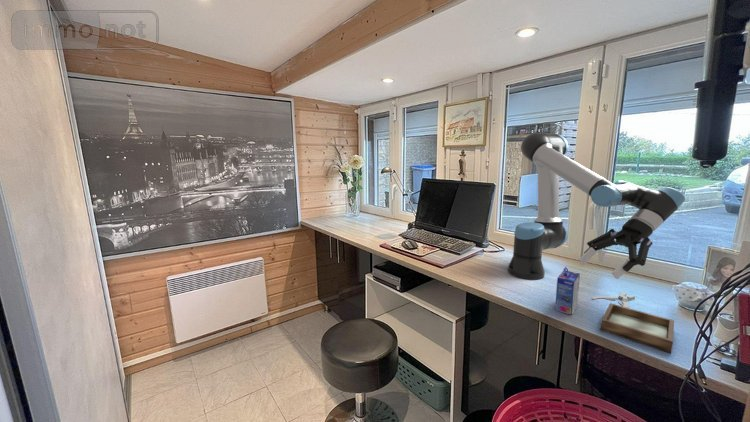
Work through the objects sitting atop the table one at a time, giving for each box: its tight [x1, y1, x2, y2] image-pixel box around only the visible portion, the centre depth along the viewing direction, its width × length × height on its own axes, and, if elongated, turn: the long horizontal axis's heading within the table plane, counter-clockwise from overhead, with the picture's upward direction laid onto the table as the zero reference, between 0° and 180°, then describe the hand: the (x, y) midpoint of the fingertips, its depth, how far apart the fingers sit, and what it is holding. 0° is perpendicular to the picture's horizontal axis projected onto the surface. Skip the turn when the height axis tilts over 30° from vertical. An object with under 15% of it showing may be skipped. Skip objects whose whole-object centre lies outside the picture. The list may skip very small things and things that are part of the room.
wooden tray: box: [599, 302, 675, 354], centre depth 90 cm, size 16×16×4 cm
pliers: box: [591, 292, 636, 308], centre depth 109 cm, size 10×2×15 cm
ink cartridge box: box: [554, 266, 581, 316], centre depth 103 cm, size 10×6×14 cm, turn 136°
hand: (596, 268), depth 102 cm, fingers open, 13 cm apart
